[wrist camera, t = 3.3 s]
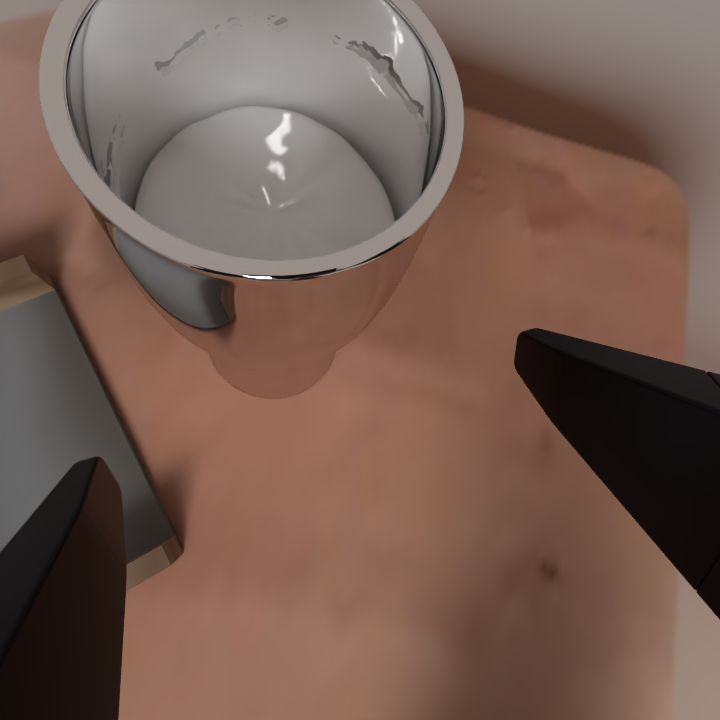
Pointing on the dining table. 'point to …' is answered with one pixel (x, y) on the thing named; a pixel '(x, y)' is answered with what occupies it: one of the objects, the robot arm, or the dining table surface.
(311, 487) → the dining table surface
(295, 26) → the silver metal cup
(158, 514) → the wooden tray
